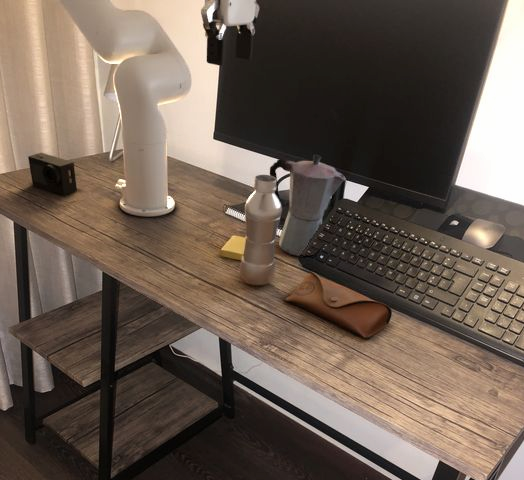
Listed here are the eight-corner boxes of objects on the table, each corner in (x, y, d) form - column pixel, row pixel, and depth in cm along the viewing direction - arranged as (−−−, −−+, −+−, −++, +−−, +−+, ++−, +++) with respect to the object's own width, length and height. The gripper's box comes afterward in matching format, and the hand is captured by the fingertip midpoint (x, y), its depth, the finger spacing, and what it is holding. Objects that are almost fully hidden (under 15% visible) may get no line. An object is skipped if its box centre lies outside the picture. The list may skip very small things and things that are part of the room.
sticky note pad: (220, 256, 113) (220, 249, 112) (233, 241, 119) (233, 234, 118) (255, 263, 112) (256, 257, 111) (266, 248, 118) (267, 242, 117)
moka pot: (330, 263, 114) (347, 167, 103) (257, 251, 116) (266, 155, 104) (335, 244, 122) (351, 152, 110) (266, 233, 124) (275, 141, 112)
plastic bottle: (237, 272, 108) (244, 170, 96) (272, 273, 109) (283, 172, 97) (239, 289, 103) (246, 184, 91) (275, 290, 104) (287, 186, 92)
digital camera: (28, 186, 134) (23, 157, 130) (45, 180, 138) (41, 151, 134) (60, 197, 130) (56, 167, 126) (77, 190, 134) (73, 161, 130)
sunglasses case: (281, 299, 100) (295, 265, 99) (297, 303, 106) (311, 271, 105) (368, 340, 92) (385, 303, 91) (380, 342, 98) (396, 307, 97)
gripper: (242, -55, 98) (236, 53, 108) (184, -60, 86) (184, 63, 96) (279, -51, 96) (270, 59, 106) (226, -55, 83) (221, 70, 93)
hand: (229, 61), depth 101 cm, fingers open, 9 cm apart
